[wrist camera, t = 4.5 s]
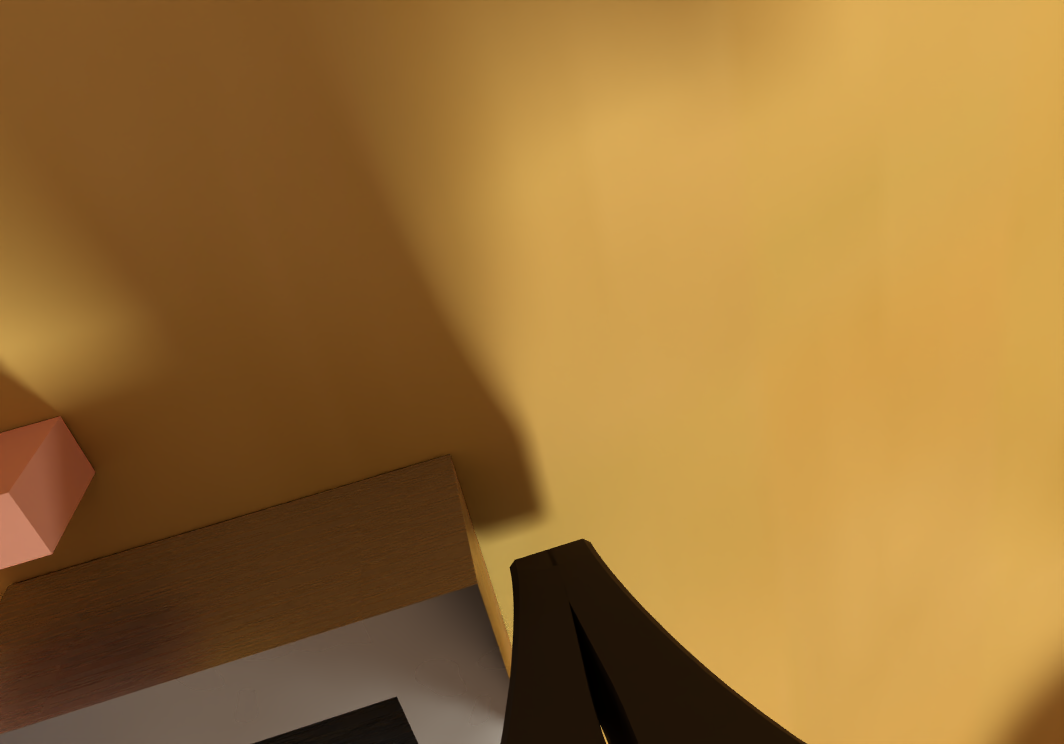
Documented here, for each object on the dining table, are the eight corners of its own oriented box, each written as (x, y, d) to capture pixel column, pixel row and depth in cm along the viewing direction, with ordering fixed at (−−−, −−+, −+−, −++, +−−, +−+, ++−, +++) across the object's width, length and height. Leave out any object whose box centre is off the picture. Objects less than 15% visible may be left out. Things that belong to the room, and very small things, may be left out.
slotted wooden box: (143, 759, 14) (94, 942, 11) (9, 585, 11) (-94, 764, 9) (510, 640, 14) (545, 787, 12) (449, 454, 12) (477, 583, 9)
